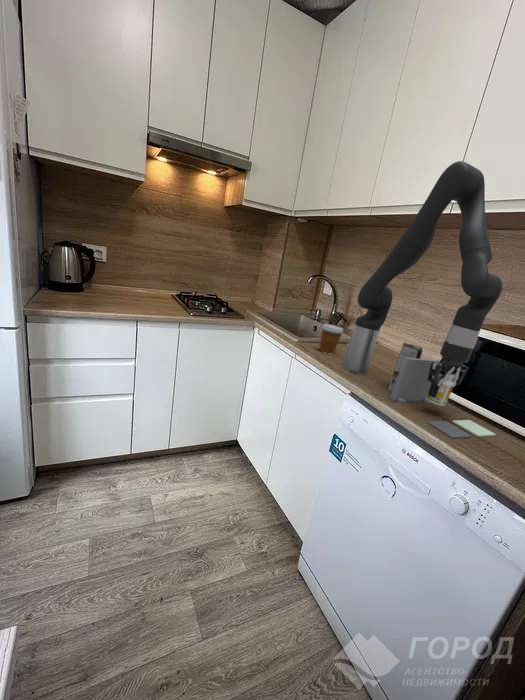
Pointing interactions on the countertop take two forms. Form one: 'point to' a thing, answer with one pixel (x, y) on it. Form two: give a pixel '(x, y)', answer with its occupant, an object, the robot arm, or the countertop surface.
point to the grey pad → (449, 429)
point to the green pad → (473, 428)
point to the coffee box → (405, 352)
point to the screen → (413, 381)
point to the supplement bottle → (443, 391)
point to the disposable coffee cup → (330, 337)
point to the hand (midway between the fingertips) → (438, 395)
